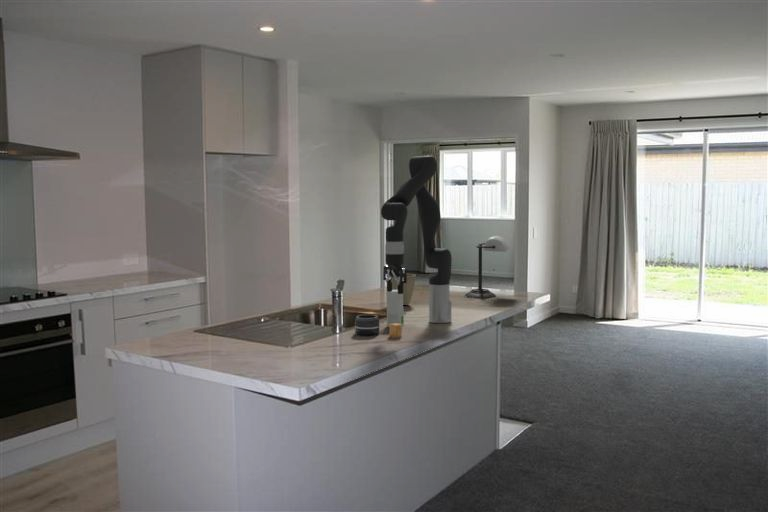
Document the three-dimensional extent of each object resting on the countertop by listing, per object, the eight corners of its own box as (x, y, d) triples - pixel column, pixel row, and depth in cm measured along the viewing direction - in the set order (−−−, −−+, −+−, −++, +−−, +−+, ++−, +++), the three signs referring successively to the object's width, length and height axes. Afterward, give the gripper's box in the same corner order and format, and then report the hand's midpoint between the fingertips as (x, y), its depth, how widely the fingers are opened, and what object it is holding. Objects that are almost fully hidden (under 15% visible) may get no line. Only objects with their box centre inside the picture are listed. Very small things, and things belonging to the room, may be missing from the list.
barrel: (371, 330, 280) (371, 313, 279) (384, 334, 271) (383, 317, 270) (350, 332, 275) (350, 315, 274) (362, 337, 266) (362, 319, 265)
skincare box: (400, 327, 285) (400, 291, 284) (385, 326, 287) (385, 291, 285) (404, 323, 294) (403, 289, 292) (389, 323, 295) (389, 288, 293)
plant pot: (421, 305, 342) (421, 275, 340) (398, 308, 333) (398, 277, 332) (404, 302, 354) (404, 272, 352) (382, 304, 346) (381, 274, 344)
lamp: (505, 300, 356) (505, 238, 353) (460, 298, 363) (460, 237, 360) (509, 293, 381) (510, 235, 378) (468, 292, 388) (468, 234, 385)
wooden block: (397, 334, 271) (397, 322, 270) (404, 337, 266) (404, 324, 265) (386, 336, 268) (386, 323, 268) (393, 338, 263) (393, 326, 263)
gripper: (412, 253, 260) (412, 294, 261) (393, 251, 272) (393, 289, 273) (395, 254, 256) (396, 295, 257) (377, 251, 268) (378, 291, 270)
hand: (394, 292), depth 265 cm, fingers open, 8 cm apart
